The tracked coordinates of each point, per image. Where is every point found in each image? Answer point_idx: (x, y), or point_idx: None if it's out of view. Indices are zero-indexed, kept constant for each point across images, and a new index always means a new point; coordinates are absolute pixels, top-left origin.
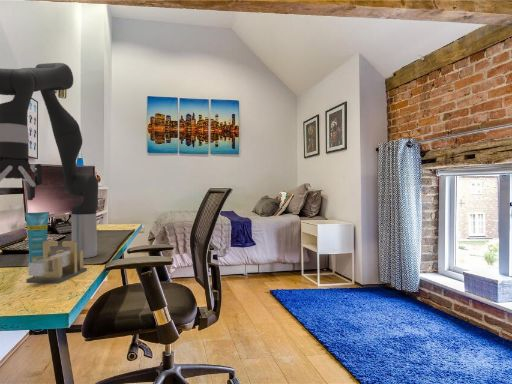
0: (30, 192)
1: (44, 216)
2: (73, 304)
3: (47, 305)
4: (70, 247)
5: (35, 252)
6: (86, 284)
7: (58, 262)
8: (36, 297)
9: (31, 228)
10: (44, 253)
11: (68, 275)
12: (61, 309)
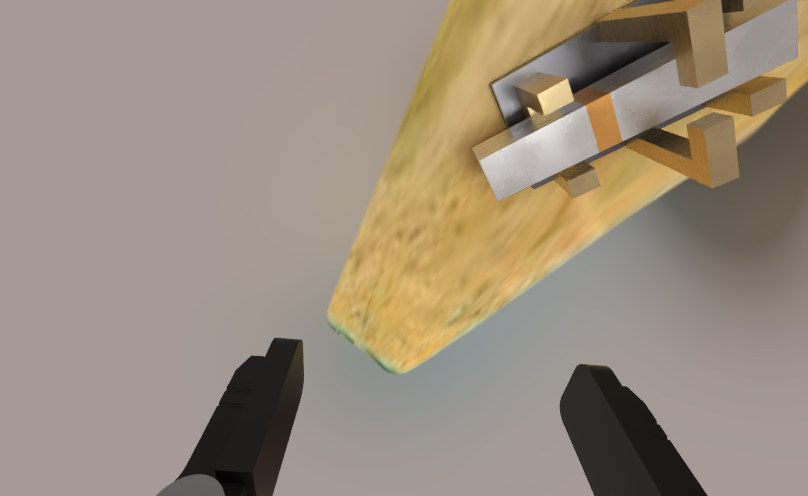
0: (590, 481)
1: None
2: (433, 352)
3: (401, 324)
4: (690, 161)
5: None
6: (555, 257)
7: (568, 192)
8: (417, 261)
9: None
10: (644, 24)
11: (591, 161)
12: (404, 358)
